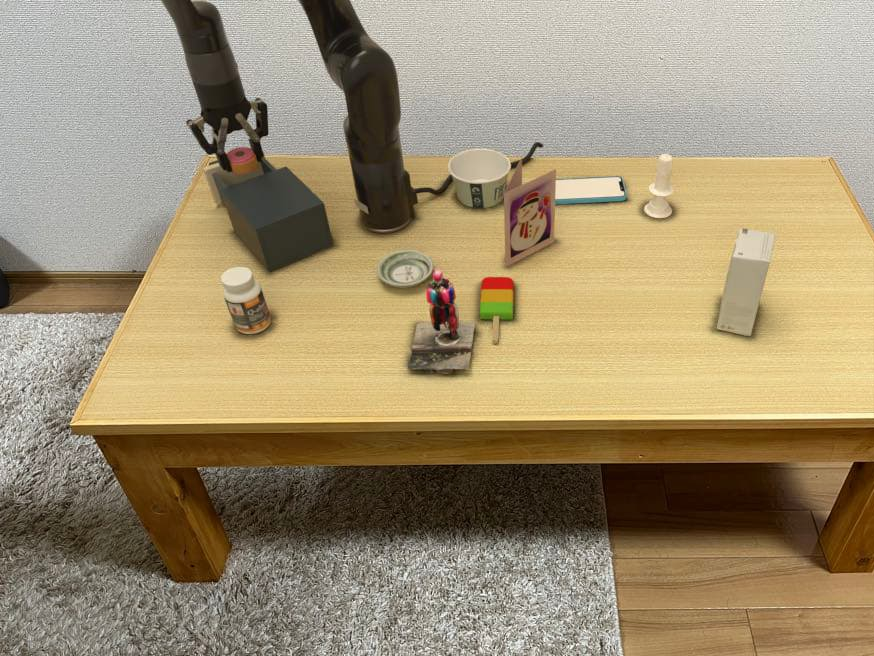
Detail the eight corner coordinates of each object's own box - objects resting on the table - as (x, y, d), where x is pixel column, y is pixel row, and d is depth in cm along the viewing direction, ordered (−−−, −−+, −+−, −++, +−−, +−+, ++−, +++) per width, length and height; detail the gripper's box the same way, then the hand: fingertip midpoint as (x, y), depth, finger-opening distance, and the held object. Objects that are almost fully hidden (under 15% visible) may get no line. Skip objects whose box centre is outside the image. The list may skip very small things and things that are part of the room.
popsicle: (514, 284, 133) (513, 275, 131) (512, 345, 123) (512, 336, 121) (482, 284, 133) (481, 275, 131) (478, 345, 123) (477, 336, 121)
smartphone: (547, 179, 153) (621, 175, 153) (547, 184, 154) (621, 180, 154) (550, 200, 148) (627, 197, 148) (550, 206, 149) (626, 202, 149)
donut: (251, 155, 142) (247, 142, 140) (263, 167, 139) (259, 154, 137) (224, 165, 140) (219, 152, 138) (236, 177, 137) (231, 164, 135)
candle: (676, 208, 148) (686, 151, 139) (664, 221, 145) (673, 165, 136) (651, 199, 150) (659, 143, 141) (639, 212, 147) (646, 156, 138)
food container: (457, 175, 155) (455, 145, 150) (515, 180, 154) (515, 150, 149) (444, 209, 147) (441, 179, 142) (505, 215, 146) (505, 184, 141)
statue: (418, 332, 126) (408, 252, 116) (475, 333, 126) (469, 252, 116) (408, 374, 118) (395, 292, 108) (468, 375, 118) (461, 293, 108)
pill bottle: (262, 338, 123) (245, 290, 116) (229, 332, 124) (210, 285, 116) (277, 314, 127) (262, 267, 119) (245, 309, 127) (227, 262, 120)
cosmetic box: (750, 337, 124) (772, 264, 113) (713, 329, 126) (731, 256, 114) (756, 305, 130) (778, 232, 119) (721, 297, 131) (739, 224, 120)
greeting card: (508, 269, 135) (507, 196, 124) (482, 249, 139) (478, 176, 128) (556, 243, 140) (559, 171, 129) (530, 225, 144) (530, 153, 133)
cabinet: (234, 232, 141) (219, 189, 135) (297, 208, 147) (286, 166, 140) (269, 272, 134) (255, 229, 127) (334, 245, 139) (324, 202, 132)
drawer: (204, 190, 149) (191, 156, 143) (259, 171, 154) (249, 137, 148) (244, 236, 139) (232, 201, 134) (301, 213, 144) (292, 179, 139)
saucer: (372, 268, 135) (370, 257, 133) (424, 255, 138) (423, 244, 136) (387, 301, 129) (385, 290, 127) (441, 287, 132) (440, 276, 130)
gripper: (246, 52, 131) (270, 143, 144) (163, 76, 125) (196, 169, 138) (265, 69, 127) (288, 161, 140) (180, 94, 121) (213, 187, 134)
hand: (243, 164), depth 139 cm, fingers closed on donut, 5 cm apart
